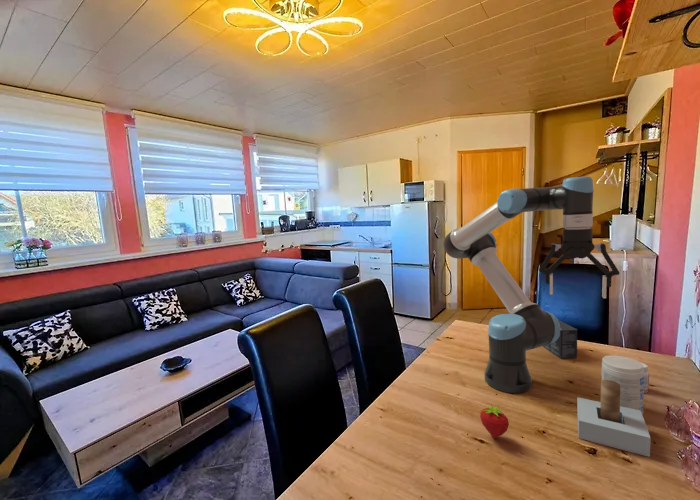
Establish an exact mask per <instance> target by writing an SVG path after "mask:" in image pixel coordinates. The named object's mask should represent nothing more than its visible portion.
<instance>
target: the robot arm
mask: <svg viewBox="0 0 700 500" xmlns="http://www.w3.org/2000/svg"><path fill="white" fill-rule="evenodd" d="M594 192H595V190H594V181H593V177H592V176H588V175H587V176H575V177H568V178H564V179H563V181H562V184H561V185H558V186H547V187H545V186H544V187H532V188H531V187H530V188H529V187H527V188H510V189H505V190H503V191H501V193H499V196H498V197H497V201H496V202H494V203H493V204H492V205H491V206H490V207H488V208H486V209H485V210H483V212H480V213H479V214H478V215H477V216H476V217H474V218H472V219H471V220H470V221H468V222H467V223H466V224H464V225H463V226H461V227H460V228H458V227H457V228H454V229H453V230H451V231H450V232H449V233H448V234H447V235H446V236H445V237H444V239H443V243H442V244H443V250H444V251H445V253H446V254H447V256H449V257H451V258H454V259H458V260H460V259H468V260H469V261H470V263H471V265H473V266H477V267H478V268H479V270H480V271H481V273H482V274H483V276H484V277H485V279H486V281H487V282H488V284H490V286H491V287H492V290H493V291H494V292H495V293H496V295H497V297H498V298H499V299H500V301H501V302H502V304H503V306H504V307H505V308H506V310H507V311H508V313H500V314H496V315H495V316H493V317H491V318H489V321H488V329H487V332H488V354H489V356H488V357H489V359H488V362H487V363H486V364H487V365H486V367H485V369H484V374H483V375H484V381H485V383H486V382H487V383H488V384H489V385H488V384H487V383H486V384H487V385H488V386H490V387H491V386H492V387H491V388H493V387H494V388H493V389H495V388H496V389H495V390H497V389H498V390H497V391H500V390H501V392H505V393H509V394H510V393H511V394H521V393H522V394H523V393H526V392H528V391H530V390H531V389H532V387H533V382H532V381H533V379H532V377H531V373H530V370H529V368H528V365H527V363H526V362H527V359H526V357H527V353H526V352H527V351H530V350H535V349H537V348H542V347H543V346H547V345H549V344H551V343H554V342H555V341H556V340H557V339H558V338H559V336H560V330H561V329H560V324H559V321H558V320H559V319H558V318H557V317H556V316H555V314H553V313H552V312H549V311H547V310H543V309H542V308H541V307H540V305H539V304H538V303H534V302H531V300H530V299H529V298H528V297H527V295H526V294H525V292H524V291H523V289H522V288H521V287H520V286H519V284H518V283H517V282H516V280H515V278H514V277H513V276H512V274H510V272H509V271H508V269H507V268H506V267H505V265H504V264H503V263H502V261H501V260H500V258H499V256H498V255H497V252H498V249H497V243H496V242H497V240H496V236H494V234H493V231H494V230H496V229H498V228H499V227H501V226H502V225H504V224H505V223H507V222H510V221H511V220H512V219H514V218H515V217H517V216H519V215H520V214H522V213H526V212H527V213H528V212H536V211H537V212H539V211H554V210H562V227H563V228H564V229H563V230H562V243H561V244H556V243H555V242H554V243H551V245H550V251H549V252H548V254H547V255H546V257H545V258H544V261H543V263H542V264H541V266H540V267H539V270H538V271H539V272H540V273H542V274H543V273H544V274H545V283H546V285H549V295H550V296H551V295H553V294H554V293H553V292H554V288H553V287H554V273H553V271H554V270H555V269H556V268H557V267H558V266H560V265H561V263H563V262H564V261H565V260H566V259H567V258H569V259H582V260H583V259H585V258H587V259H588V260H590V261H591V262H592V264H594V265H595V266H596V268H597V269H599V270H600V271H601V272H602V273H603V274H604V275H602V283H601V284H602V289H601V293H602V294H601V297H602V298H603V299H607V288H611V287H612V277H613V276H619V275H620V271H619V269H618V267H617V266H616V264H615V262H614V261H613V260H612V258H611V257H610V254H609V253H608V252H607V247H606V244H605V242H601V243H599V244H598V243H597V244H594V242H593V234H594V233H593V231H594V230H593V229H592V227H593V226H594V224H593V219H594V218H593V215H594V213H593V206H594V205H593V200H594ZM559 249H561V250H562V251H563V253H562V254H561V255H560V256H559V257H558V258H557V259H556V260H555V261H554V262H553V263H552V264H551V265H550V266H548V264H549V262H550V261H551V259H552V258H553V256H554V255H555V252H557V251H559ZM594 249H596V250H597V251H598V252H600V253H601V254H602V256H603V258H604V260H605V261H606V262H607V264H608V266H609V267H610V269H611V270H609V269H607V268H606V267H605V266H604V264H602V263H601V262H600V261H599V260H598V259H597V258H596V257H595V256H594V255H593V254H592V251H593V250H594ZM547 266H548V268H546V267H547Z"/></svg>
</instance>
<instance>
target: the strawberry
mask: <svg viewBox="0 0 700 500" xmlns="http://www.w3.org/2000/svg"><path fill="white" fill-rule="evenodd" d="M485 406H486V408H483V409H481V411H480V415H479V417H480V421H481V423H482V425H483V427H484V428H485V429H486V431H487V432H488V433H489V434H490V435H491V437H492V438H494V439H498V438H499V437H502V436H503V435H504V434H505V433H506V432H507V431H508V429H509V424H510V423H509V422H510V421H509V418H508V417H507V415H505V414H504V413H503V412H502V411H503V409H499V408H498V405H496V406H493V405H492V403H491V406H490V405H487V404H485Z"/></svg>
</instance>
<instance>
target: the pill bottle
mask: <svg viewBox="0 0 700 500" xmlns="http://www.w3.org/2000/svg"><path fill="white" fill-rule="evenodd" d="M640 363H641V364H642V365H643V369H644V394H645V393H648V392H649V384H650V372H649V367H648V365H647V364H646V363H643V362H640Z"/></svg>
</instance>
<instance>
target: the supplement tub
mask: <svg viewBox="0 0 700 500" xmlns="http://www.w3.org/2000/svg"><path fill="white" fill-rule="evenodd" d="M601 359H602V360H601V361H602V362H601V381H602V380H611V381H614V382H617V383H619V384H620V406H621V407H626V408H631V409H636V410H640V411H641V413H642V415H644V406H645V405H644V403H645V402H644V401H645V400H644V397H645V393H644V369H643V365H642V364H641V363H642V362H641V361H638V360H636V359H634V358H631V357H627V356H621V355H605V356H603V357H602V358H601Z"/></svg>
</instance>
